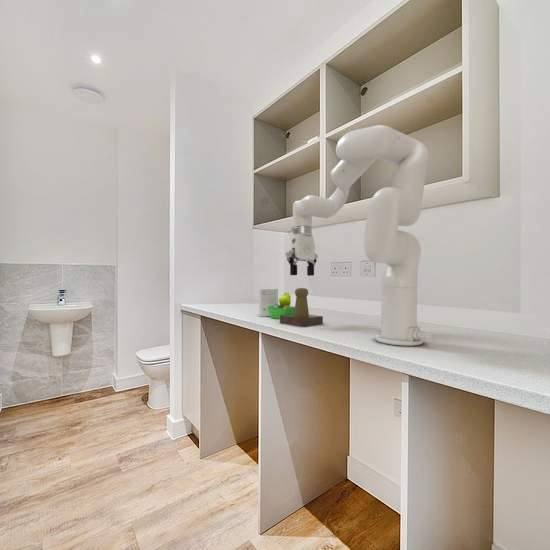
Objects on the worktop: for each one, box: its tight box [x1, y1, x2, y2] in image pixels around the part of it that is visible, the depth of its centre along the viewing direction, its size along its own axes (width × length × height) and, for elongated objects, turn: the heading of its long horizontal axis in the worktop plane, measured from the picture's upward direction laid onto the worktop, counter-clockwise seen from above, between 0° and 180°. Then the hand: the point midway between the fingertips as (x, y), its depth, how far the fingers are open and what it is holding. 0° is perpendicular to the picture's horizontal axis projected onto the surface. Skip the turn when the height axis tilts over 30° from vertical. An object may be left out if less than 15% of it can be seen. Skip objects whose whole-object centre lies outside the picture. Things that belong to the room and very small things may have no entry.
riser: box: [279, 314, 324, 328], centre depth 123 cm, size 12×12×3 cm
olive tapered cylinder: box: [294, 287, 310, 317], centre depth 123 cm, size 6×6×11 cm
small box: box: [259, 287, 279, 317], centre depth 147 cm, size 8×6×13 cm
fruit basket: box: [268, 292, 295, 320], centre depth 138 cm, size 11×9×11 cm
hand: (302, 275), depth 123 cm, fingers open, 9 cm apart
